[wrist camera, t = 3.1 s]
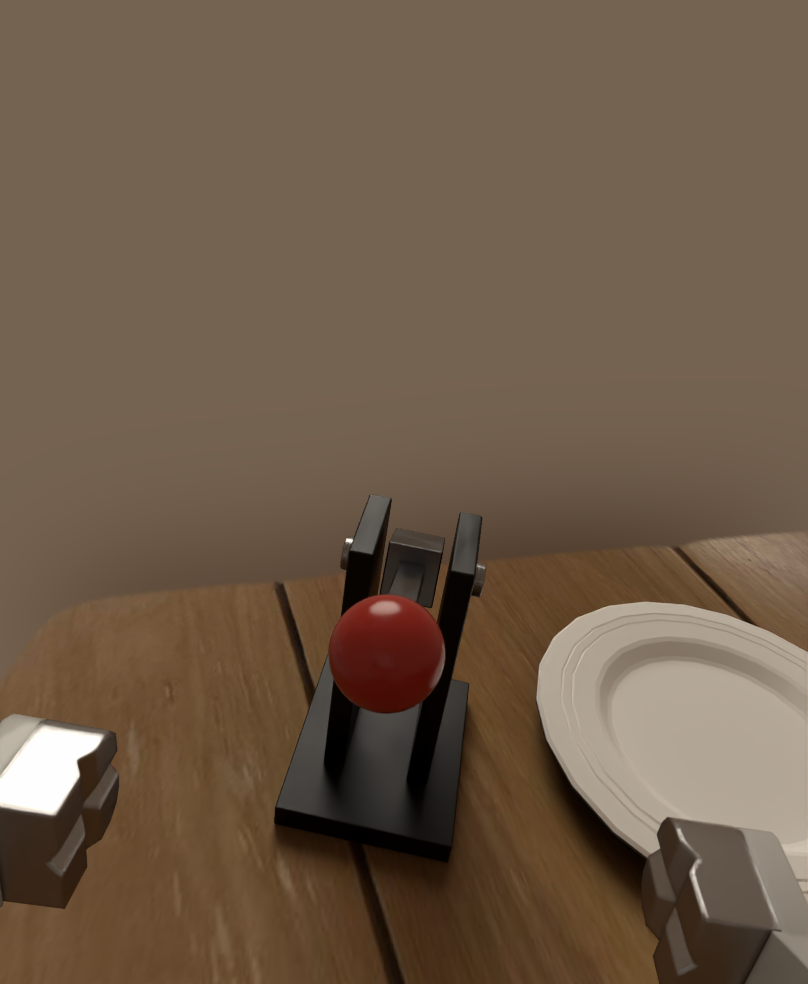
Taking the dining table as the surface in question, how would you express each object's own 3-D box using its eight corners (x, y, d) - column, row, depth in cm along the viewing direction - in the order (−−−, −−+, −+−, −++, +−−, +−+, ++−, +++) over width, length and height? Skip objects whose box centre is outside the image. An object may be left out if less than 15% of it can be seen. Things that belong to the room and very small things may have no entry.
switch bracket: (447, 862, 34) (512, 632, 26) (273, 823, 34) (290, 586, 27) (465, 697, 42) (518, 489, 35) (326, 668, 43) (349, 456, 35)
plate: (718, 1032, 29) (736, 1008, 28) (461, 660, 45) (467, 636, 44) (1016, 857, 38) (1038, 835, 37) (716, 597, 53) (725, 576, 52)
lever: (430, 747, 20) (453, 629, 20) (308, 720, 21) (329, 603, 20) (446, 602, 33) (461, 529, 33) (371, 587, 34) (384, 513, 33)
